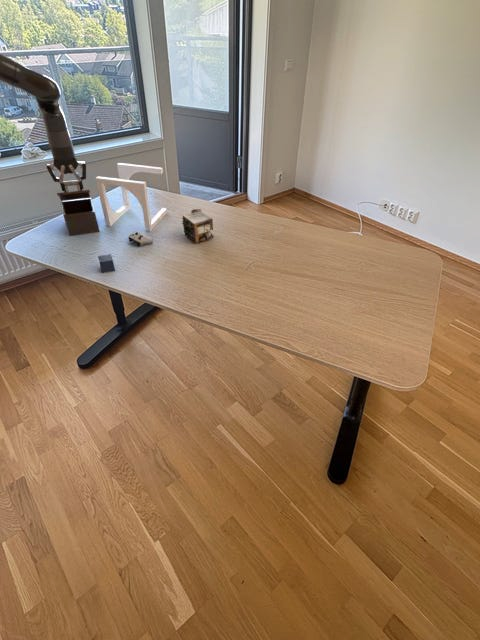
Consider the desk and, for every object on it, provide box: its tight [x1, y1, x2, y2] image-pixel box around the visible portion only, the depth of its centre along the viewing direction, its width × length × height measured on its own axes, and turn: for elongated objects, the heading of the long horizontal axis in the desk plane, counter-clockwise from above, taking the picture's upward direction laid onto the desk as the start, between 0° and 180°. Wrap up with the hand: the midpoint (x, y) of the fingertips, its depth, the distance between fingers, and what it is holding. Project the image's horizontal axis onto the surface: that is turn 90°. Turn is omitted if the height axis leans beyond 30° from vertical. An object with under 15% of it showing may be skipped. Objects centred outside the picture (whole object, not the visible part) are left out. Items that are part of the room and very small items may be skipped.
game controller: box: [127, 231, 154, 247], centre depth 138 cm, size 10×5×6 cm
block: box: [97, 253, 116, 274], centre depth 122 cm, size 4×4×4 cm
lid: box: [56, 179, 92, 201], centre depth 138 cm, size 15×12×5 cm
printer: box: [181, 208, 215, 243], centre depth 140 cm, size 11×25×10 cm, turn 24°
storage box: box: [60, 197, 101, 237], centre depth 144 cm, size 15×12×9 cm
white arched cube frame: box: [95, 162, 168, 233], centre depth 148 cm, size 20×20×20 cm
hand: (73, 191), depth 135 cm, fingers closed on lid, 5 cm apart
